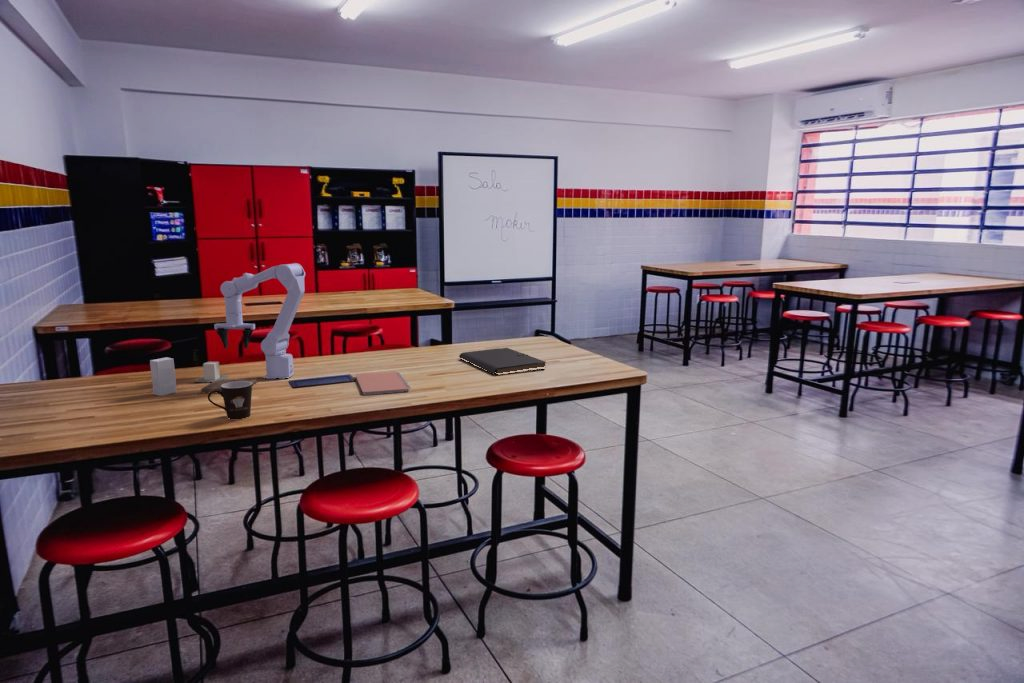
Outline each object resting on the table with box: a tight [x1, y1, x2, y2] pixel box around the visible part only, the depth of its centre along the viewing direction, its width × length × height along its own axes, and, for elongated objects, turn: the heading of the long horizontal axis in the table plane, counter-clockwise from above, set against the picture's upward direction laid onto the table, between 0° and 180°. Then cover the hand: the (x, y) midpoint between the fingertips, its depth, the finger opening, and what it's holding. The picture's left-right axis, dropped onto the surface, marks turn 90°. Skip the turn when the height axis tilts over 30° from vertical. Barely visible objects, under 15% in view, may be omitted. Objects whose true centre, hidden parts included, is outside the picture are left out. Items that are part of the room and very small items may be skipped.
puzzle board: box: [201, 379, 257, 393], centre depth 220 cm, size 14×13×2 cm
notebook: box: [354, 370, 412, 396], centre depth 229 cm, size 27×17×2 cm, turn 19°
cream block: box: [202, 361, 221, 380], centre depth 231 cm, size 4×4×6 cm
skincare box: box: [149, 356, 178, 397], centre depth 212 cm, size 6×4×12 cm
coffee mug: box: [207, 381, 253, 420], centre depth 188 cm, size 12×9×10 cm
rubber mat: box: [194, 375, 230, 383], centre depth 232 cm, size 9×9×1 cm
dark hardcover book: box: [458, 347, 547, 375], centre depth 264 cm, size 33×4×24 cm
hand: (236, 347), depth 239 cm, fingers open, 7 cm apart
